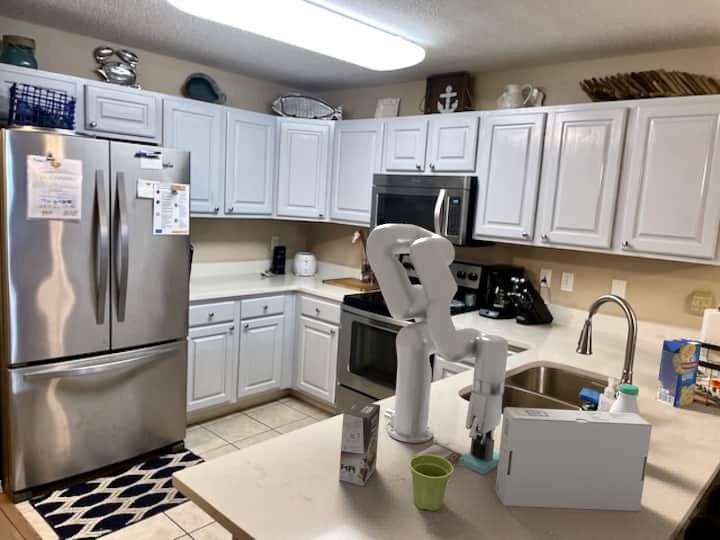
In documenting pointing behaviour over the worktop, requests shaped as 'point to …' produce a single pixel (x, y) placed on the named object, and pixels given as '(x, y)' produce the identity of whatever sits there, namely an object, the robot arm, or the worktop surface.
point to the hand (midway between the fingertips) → (481, 454)
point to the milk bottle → (626, 400)
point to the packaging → (572, 459)
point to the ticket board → (441, 453)
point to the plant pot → (429, 480)
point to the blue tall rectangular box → (678, 372)
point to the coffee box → (359, 442)
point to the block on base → (479, 464)
